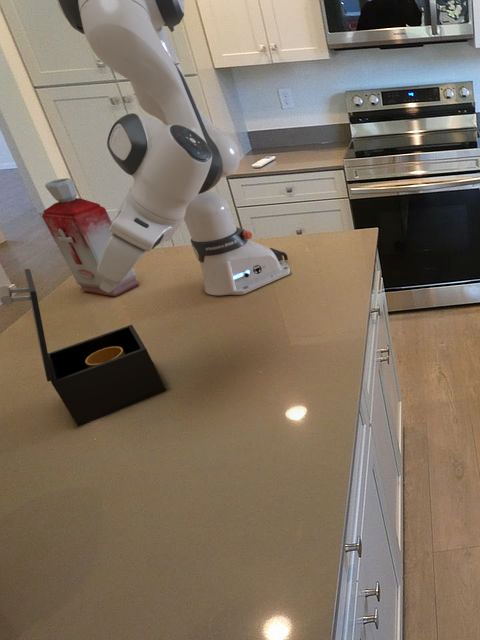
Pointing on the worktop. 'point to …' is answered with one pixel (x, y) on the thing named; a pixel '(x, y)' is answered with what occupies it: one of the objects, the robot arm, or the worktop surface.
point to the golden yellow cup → (104, 356)
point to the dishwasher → (104, 375)
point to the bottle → (81, 236)
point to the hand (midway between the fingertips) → (115, 278)
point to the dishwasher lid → (6, 298)
